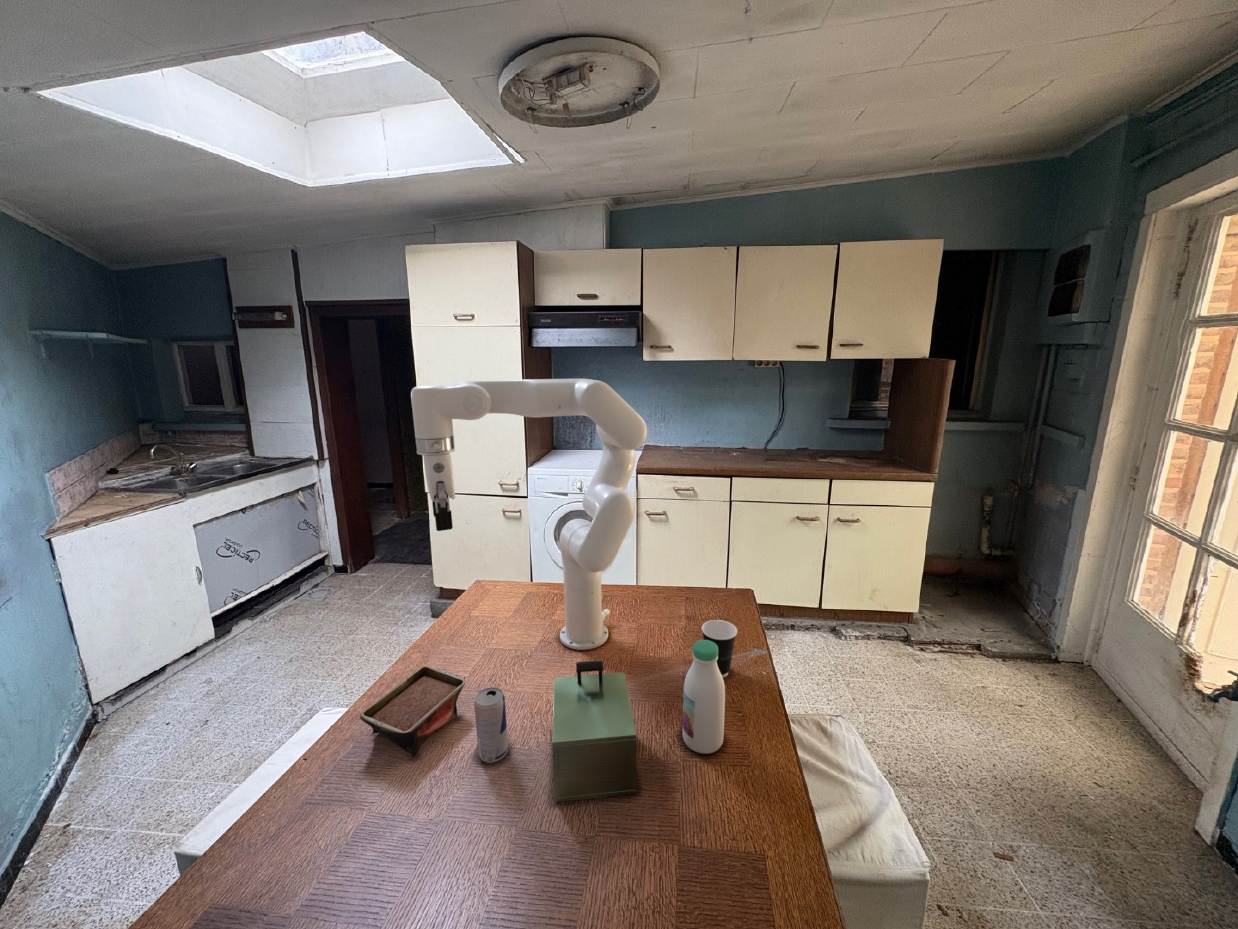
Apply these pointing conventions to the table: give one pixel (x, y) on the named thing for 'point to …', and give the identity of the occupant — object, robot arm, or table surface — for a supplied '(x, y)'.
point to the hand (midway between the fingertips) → (442, 522)
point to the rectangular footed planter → (415, 707)
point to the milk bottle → (704, 700)
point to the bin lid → (591, 707)
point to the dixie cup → (721, 641)
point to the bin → (595, 770)
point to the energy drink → (491, 724)
